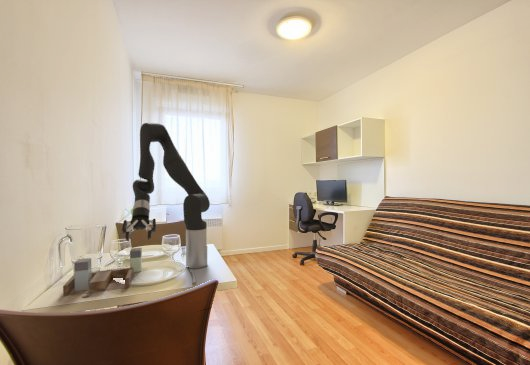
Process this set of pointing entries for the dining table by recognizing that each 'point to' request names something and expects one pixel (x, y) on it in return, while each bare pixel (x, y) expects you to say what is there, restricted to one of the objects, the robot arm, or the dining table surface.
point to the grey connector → (82, 274)
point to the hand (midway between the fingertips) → (138, 239)
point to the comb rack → (101, 281)
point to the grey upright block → (136, 259)
